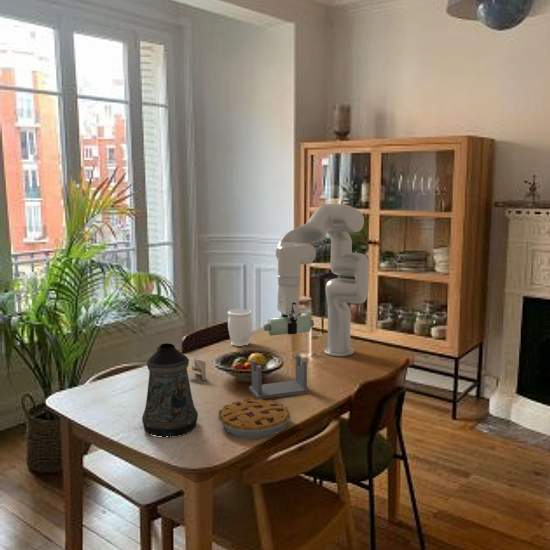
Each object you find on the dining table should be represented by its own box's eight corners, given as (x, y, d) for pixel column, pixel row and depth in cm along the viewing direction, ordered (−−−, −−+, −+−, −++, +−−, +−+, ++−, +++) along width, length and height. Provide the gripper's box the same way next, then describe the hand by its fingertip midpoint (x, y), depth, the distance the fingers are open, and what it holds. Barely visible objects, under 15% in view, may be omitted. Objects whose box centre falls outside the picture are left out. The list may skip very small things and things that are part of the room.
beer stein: (166, 443, 165) (162, 359, 160) (125, 425, 177) (121, 346, 173) (209, 424, 177) (206, 345, 173) (168, 408, 189) (165, 334, 185)
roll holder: (249, 389, 205) (248, 359, 203) (299, 382, 211) (299, 353, 209) (257, 399, 196) (256, 368, 194) (309, 392, 202) (309, 362, 200)
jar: (225, 347, 255) (225, 313, 252) (231, 340, 265) (230, 308, 262) (249, 348, 253) (249, 314, 250) (254, 341, 263) (253, 309, 260)
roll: (261, 333, 204) (261, 316, 203) (309, 328, 210) (309, 312, 209) (267, 338, 199) (267, 321, 198) (315, 333, 204) (316, 317, 203)
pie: (239, 448, 162) (239, 431, 161) (206, 420, 180) (205, 405, 179) (304, 429, 173) (304, 413, 172) (266, 405, 192) (266, 390, 191)
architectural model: (199, 383, 213) (199, 363, 212) (186, 379, 217) (185, 360, 216) (206, 380, 216) (205, 361, 214) (193, 376, 220) (192, 357, 218)
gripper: (270, 277, 208) (271, 326, 211) (287, 286, 192) (287, 338, 195) (290, 276, 210) (290, 325, 213) (308, 284, 194) (308, 336, 197)
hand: (288, 331), depth 204 cm, fingers closed on roll, 6 cm apart
